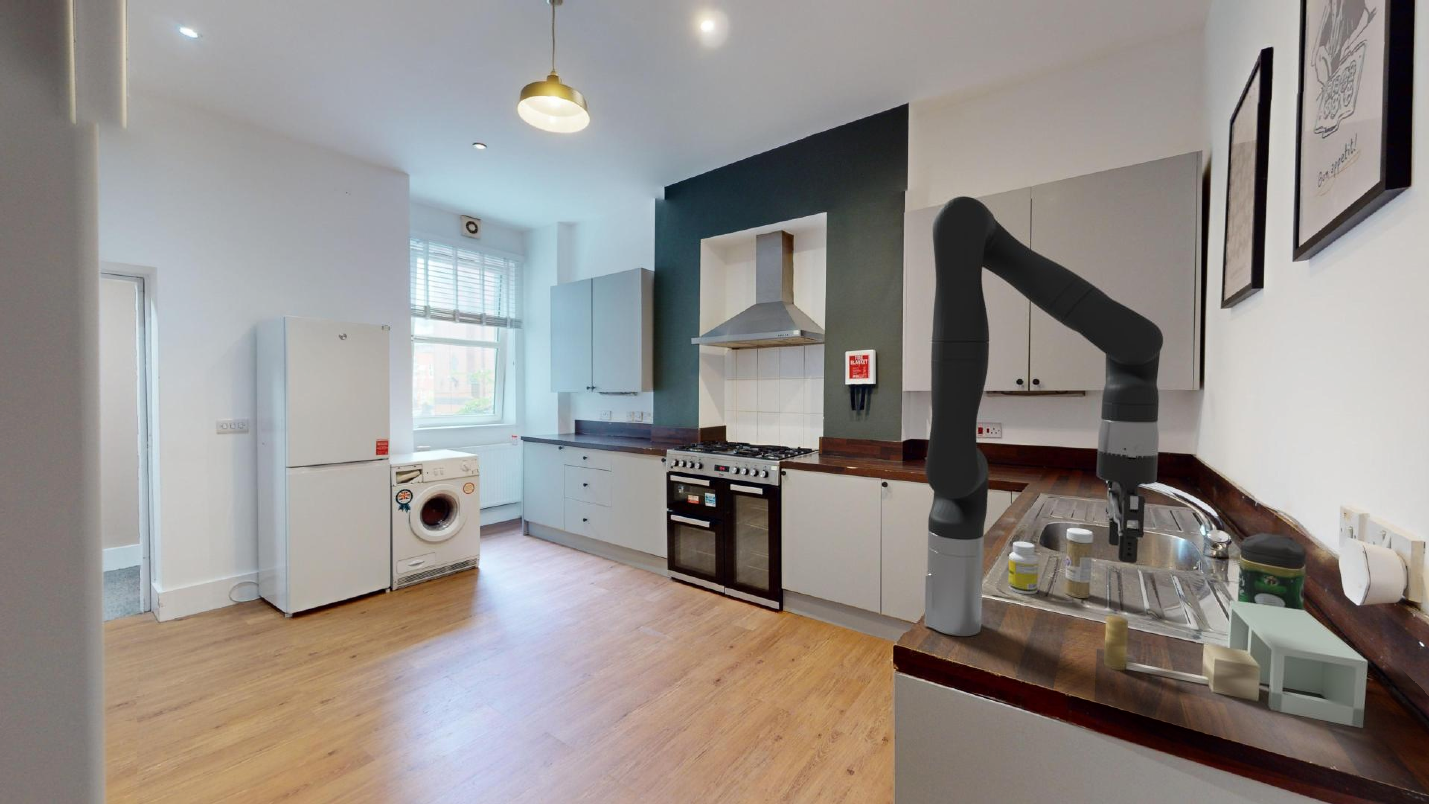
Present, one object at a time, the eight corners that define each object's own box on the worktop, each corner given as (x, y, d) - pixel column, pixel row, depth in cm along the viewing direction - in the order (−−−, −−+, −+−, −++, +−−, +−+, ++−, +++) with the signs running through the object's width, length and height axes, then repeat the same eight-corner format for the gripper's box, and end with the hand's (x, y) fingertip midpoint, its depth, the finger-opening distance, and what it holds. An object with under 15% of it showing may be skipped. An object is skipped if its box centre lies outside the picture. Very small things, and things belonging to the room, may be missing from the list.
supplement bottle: (1009, 583, 124) (1010, 538, 124) (1037, 588, 122) (1039, 542, 121) (1007, 591, 120) (1008, 545, 119) (1036, 597, 117) (1038, 549, 116)
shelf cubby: (1271, 709, 79) (1275, 646, 78) (1226, 653, 94) (1230, 600, 93) (1362, 728, 75) (1367, 661, 74) (1300, 666, 90) (1304, 610, 89)
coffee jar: (1239, 628, 103) (1245, 526, 102) (1302, 644, 97) (1309, 536, 96) (1230, 646, 97) (1237, 537, 95) (1297, 664, 91) (1305, 549, 89)
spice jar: (1059, 590, 120) (1061, 527, 119) (1079, 589, 121) (1082, 526, 120) (1075, 599, 116) (1077, 534, 115) (1096, 598, 116) (1098, 533, 115)
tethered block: (1106, 671, 89) (1108, 624, 88) (1101, 656, 93) (1103, 611, 93) (1258, 701, 81) (1261, 649, 80) (1244, 683, 85) (1247, 634, 85)
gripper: (1091, 442, 96) (1086, 537, 97) (1105, 454, 83) (1100, 563, 84) (1146, 445, 93) (1141, 543, 94) (1170, 458, 80) (1163, 572, 81)
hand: (1121, 553), depth 89 cm, fingers open, 8 cm apart
